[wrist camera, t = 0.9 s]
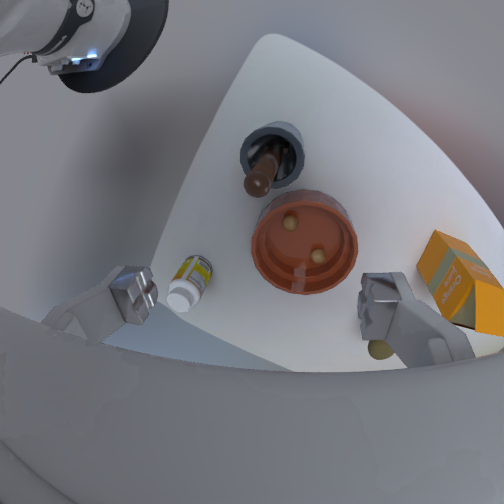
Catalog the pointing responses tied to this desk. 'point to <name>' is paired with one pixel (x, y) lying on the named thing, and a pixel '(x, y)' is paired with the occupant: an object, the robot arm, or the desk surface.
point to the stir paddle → (265, 169)
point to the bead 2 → (318, 256)
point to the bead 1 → (290, 223)
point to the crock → (289, 162)
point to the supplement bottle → (189, 284)
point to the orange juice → (462, 285)
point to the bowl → (304, 243)
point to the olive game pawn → (379, 349)
